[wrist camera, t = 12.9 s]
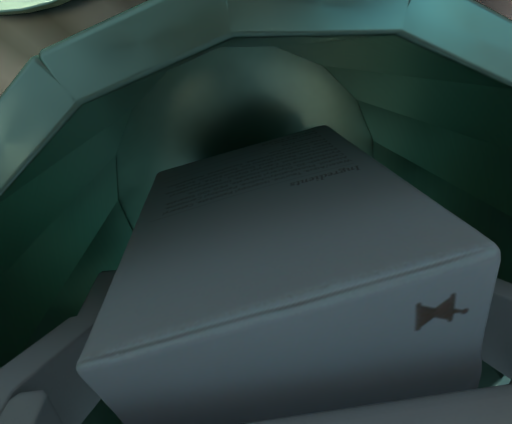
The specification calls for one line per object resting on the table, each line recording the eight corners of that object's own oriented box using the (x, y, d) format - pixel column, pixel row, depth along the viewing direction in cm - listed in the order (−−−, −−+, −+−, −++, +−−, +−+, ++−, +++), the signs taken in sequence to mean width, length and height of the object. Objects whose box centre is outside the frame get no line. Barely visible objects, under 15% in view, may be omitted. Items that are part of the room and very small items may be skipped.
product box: (153, 167, 10) (54, 367, 4) (328, 119, 10) (525, 238, 4) (209, 297, 13) (206, 532, 7) (345, 259, 13) (471, 459, 7)
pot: (309, -58, 11) (625, -413, 3) (414, 216, 17) (607, 374, 9) (31, 145, 13) (-306, 318, 4) (215, 325, 19) (218, 538, 11)
